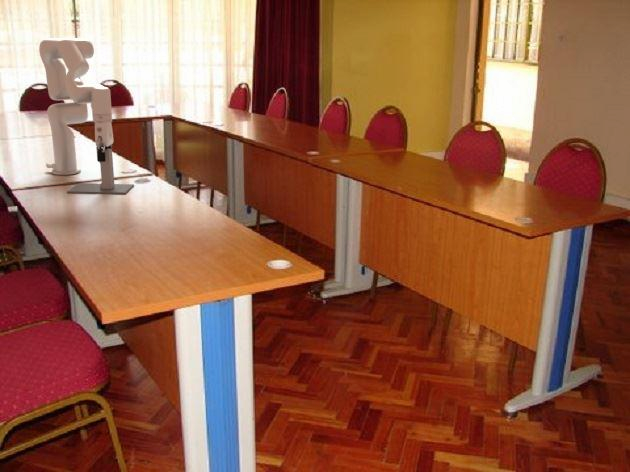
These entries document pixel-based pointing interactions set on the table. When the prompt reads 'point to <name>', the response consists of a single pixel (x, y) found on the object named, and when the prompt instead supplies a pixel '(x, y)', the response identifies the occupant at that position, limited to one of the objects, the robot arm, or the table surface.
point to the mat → (95, 189)
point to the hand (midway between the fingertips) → (105, 159)
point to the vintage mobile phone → (107, 170)
